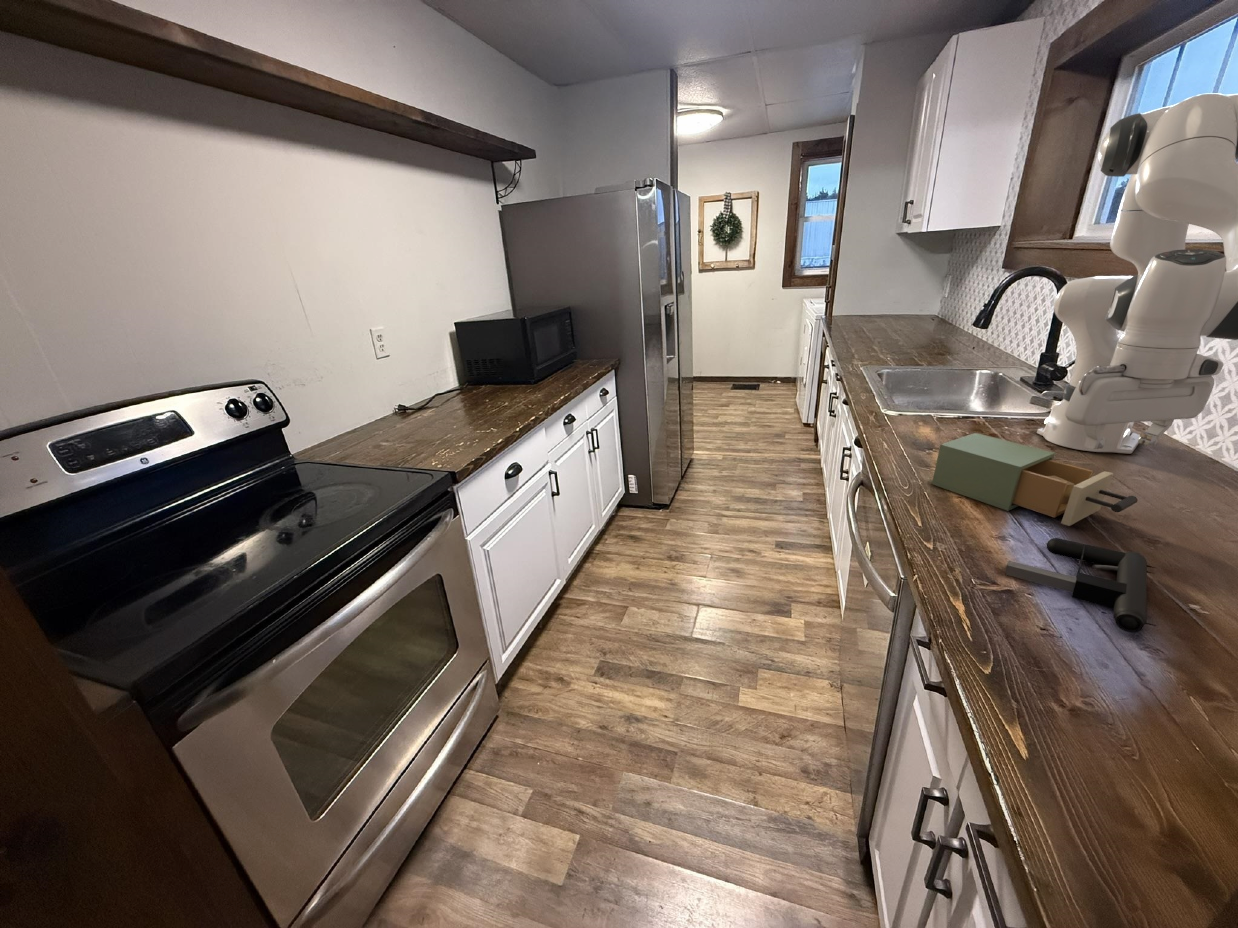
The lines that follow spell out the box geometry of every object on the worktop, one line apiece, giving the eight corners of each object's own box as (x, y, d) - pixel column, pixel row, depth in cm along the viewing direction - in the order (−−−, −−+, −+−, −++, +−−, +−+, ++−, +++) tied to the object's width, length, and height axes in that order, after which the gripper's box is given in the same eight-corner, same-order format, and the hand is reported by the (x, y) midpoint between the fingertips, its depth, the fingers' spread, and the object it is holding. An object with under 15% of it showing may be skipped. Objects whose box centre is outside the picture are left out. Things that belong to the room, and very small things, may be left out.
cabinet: (1042, 494, 99) (1055, 452, 96) (1007, 511, 94) (1020, 467, 91) (966, 471, 111) (975, 432, 108) (931, 484, 106) (940, 444, 103)
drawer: (1135, 520, 87) (1150, 482, 84) (1105, 538, 82) (1120, 499, 80) (1016, 483, 102) (1026, 450, 100) (985, 497, 98) (994, 463, 95)
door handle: (1000, 577, 72) (1162, 622, 61) (1023, 525, 85) (1159, 553, 74) (996, 597, 73) (1154, 644, 62) (1019, 542, 86) (1153, 573, 75)
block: (1048, 494, 95) (1054, 475, 94) (1068, 503, 92) (1074, 483, 90) (1029, 496, 95) (1035, 477, 93) (1048, 505, 91) (1055, 485, 90)
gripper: (1106, 371, 74) (1078, 457, 79) (1235, 363, 75) (1198, 448, 80) (1068, 363, 80) (1044, 443, 85) (1187, 355, 81) (1156, 436, 86)
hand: (1119, 446), depth 83 cm, fingers open, 8 cm apart
